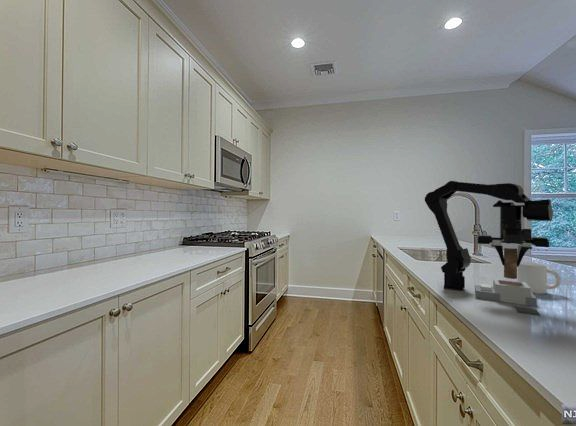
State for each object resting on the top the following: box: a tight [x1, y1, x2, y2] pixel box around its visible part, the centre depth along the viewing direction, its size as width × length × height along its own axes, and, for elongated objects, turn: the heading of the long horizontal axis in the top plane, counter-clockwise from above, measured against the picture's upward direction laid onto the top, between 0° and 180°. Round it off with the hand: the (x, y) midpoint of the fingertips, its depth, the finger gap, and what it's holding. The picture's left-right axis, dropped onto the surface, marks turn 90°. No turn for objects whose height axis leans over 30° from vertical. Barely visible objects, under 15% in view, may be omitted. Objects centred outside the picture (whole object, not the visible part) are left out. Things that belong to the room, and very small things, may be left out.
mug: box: [517, 261, 562, 295], centre depth 103 cm, size 12×8×10 cm
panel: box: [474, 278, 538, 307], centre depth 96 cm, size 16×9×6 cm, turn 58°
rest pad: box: [514, 305, 541, 317], centre depth 83 cm, size 5×5×1 cm
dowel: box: [503, 247, 518, 280], centre depth 95 cm, size 4×4×10 cm
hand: (510, 265), depth 95 cm, fingers closed on dowel, 3 cm apart
